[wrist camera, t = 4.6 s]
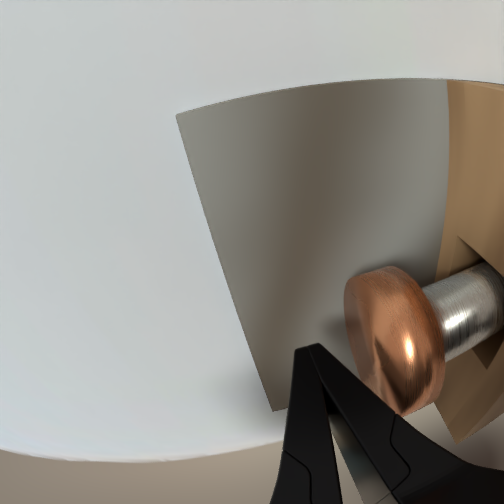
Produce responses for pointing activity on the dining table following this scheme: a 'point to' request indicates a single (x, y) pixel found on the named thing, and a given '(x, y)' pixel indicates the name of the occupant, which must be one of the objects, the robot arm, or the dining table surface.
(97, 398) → the dining table surface
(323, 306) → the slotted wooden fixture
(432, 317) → the pin
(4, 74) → the dining table surface
